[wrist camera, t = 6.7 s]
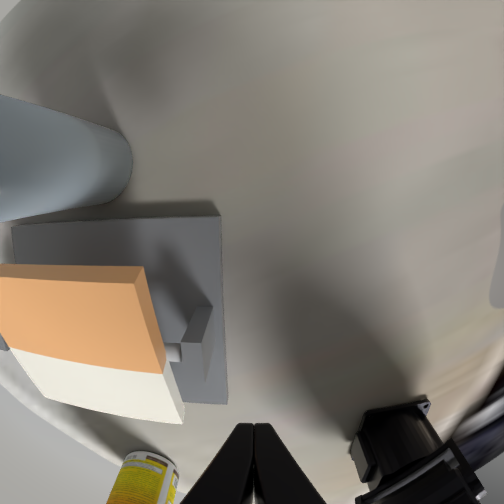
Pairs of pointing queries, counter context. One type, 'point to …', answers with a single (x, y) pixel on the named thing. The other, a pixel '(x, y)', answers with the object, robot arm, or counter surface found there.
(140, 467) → the supplement bottle
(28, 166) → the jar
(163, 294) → the switch base
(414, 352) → the counter surface
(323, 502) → the robot arm
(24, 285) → the two-tone square pad
